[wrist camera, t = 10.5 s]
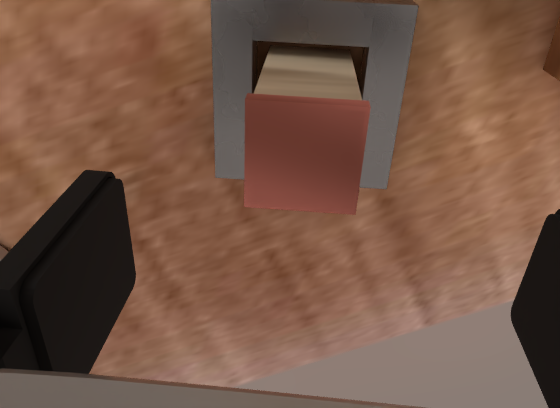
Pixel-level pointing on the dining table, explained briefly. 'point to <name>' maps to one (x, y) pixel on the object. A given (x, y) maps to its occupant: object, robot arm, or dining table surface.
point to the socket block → (311, 30)
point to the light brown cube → (554, 55)
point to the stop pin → (305, 132)
